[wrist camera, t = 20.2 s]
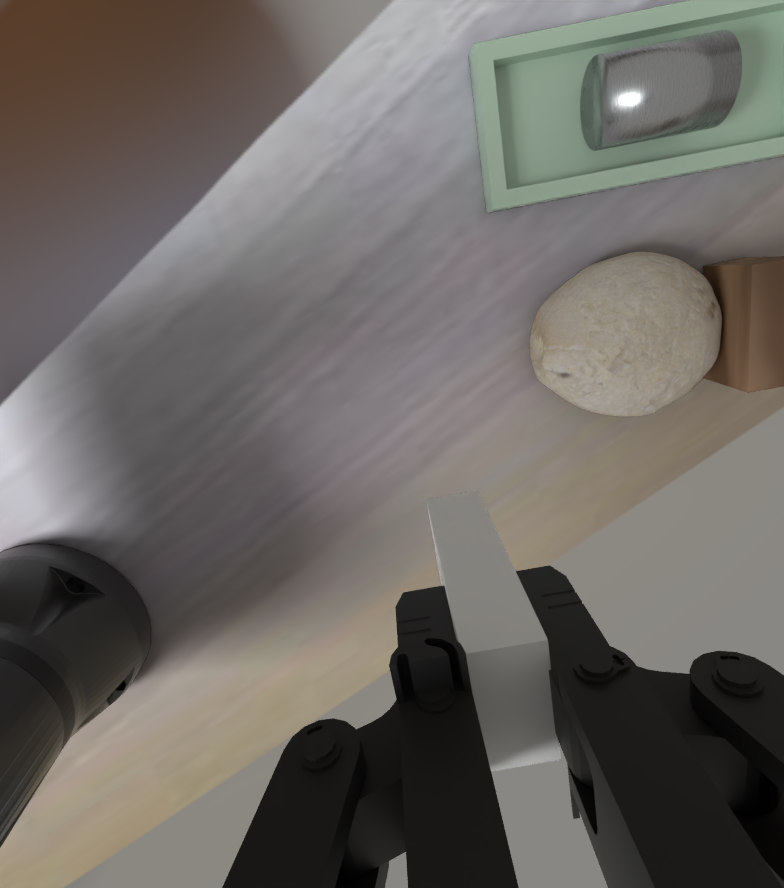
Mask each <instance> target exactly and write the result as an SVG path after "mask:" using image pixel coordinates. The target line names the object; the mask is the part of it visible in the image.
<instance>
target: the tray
mask: <svg viewBox="0 0 784 888" xmlns="http://www.w3.org/2000/svg"><path fill="white" fill-rule="evenodd" d="M719 30H729V31H731V32H732V33H733V34H734V35H735V36H736V38H737V39H738V42H739V44H740V48H741V53H742V77H741V83H740V87H739V91H738V95H737V98H736V100H735V103H734V105H733V107H732V109H731V111H730V113H729V114H728V116H727V117H726V119H725V120H724V121H723V122H722V123H721V124H720V125H718V126H717V127H714V128H710V129H705V130H700V131H695V132H690V133H685V134H679V135H674V136H669V137H664V138H659V139H654V140H649V141H643V142H638V143H633V144H628V145H623V146H618V147H613V148H607V149H602V150H597V151H593V150H591V149H590V148H589V147H588V145H587V144H586V141H585V139H584V136H583V132H582V126H581V117H580V98H581V89H582V83H583V78H584V74H585V71H586V68H587V66H588V64H589V62H590V60H591V59H592V58H593V57H594V56H595V55H598V54H603V53H608V52H613V51H618V50H623V49H628V48H633V47H638V46H643V45H648V44H653V43H658V42H664V41H669V40H674V39H679V38H684V37H689V36H694V35H699V34H704V33H709V32H714V31H719ZM469 66H470V75H471V83H472V92H473V101H474V109H475V118H476V127H477V135H478V144H479V153H480V161H481V170H482V178H483V187H484V196H485V204H486V213H490V212H495V211H501V210H506V209H511V208H516V207H522V206H527V205H532V204H537V203H542V202H548V201H553V200H558V199H563V198H568V197H574V196H579V195H584V194H589V193H594V192H600V191H605V190H610V189H615V188H620V187H626V186H631V185H636V184H641V183H647V182H652V181H657V180H662V179H667V178H673V177H678V176H683V175H688V174H693V173H699V172H704V171H709V170H714V169H719V168H725V167H730V166H735V165H740V164H745V163H751V162H756V161H761V160H766V159H772V158H777V157H782V156H784V0H690V1H685V2H680V3H675V4H670V5H665V6H660V7H655V8H650V9H645V10H640V11H635V12H630V13H625V14H620V15H615V16H610V17H605V18H600V19H595V20H590V21H585V22H580V23H575V24H570V25H565V26H560V27H555V28H550V29H545V30H540V31H535V32H530V33H525V34H520V35H515V36H510V37H505V38H500V39H495V40H490V41H485V42H480V43H475V44H474V45H473V48H472V50H471V52H470V54H469Z"/></svg>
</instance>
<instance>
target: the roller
mask: <svg viewBox="0 0 784 888" xmlns="http://www.w3.org/2000/svg"><path fill="white" fill-rule="evenodd" d="M741 77H742V53H741V48H740V44H739V42H738V39H737V38H736V36H735V35H734V34H733V33H732V32H731V31H729V30H719V31H714V32H709V33H704V34H699V35H694V36H689V37H684V38H679V39H674V40H669V41H664V42H658V43H653V44H648V45H643V46H638V47H633V48H628V49H623V50H618V51H613V52H608V53H603V54H598V55H595V56H594V57H593V58H592V59H591V60H590V62H589V64H588V66H587V68H586V71H585V74H584V78H583V83H582V89H581V98H580V117H581V126H582V132H583V136H584V139H585V141H586V144H587V145H588V147H589V148H590V149H591V150H593V151H597V150H602V149H607V148H613V147H618V146H623V145H628V144H633V143H638V142H643V141H649V140H654V139H659V138H664V137H669V136H674V135H679V134H685V133H690V132H695V131H700V130H705V129H710V128H714V127H717V126H718V125H720V124H721V123H722V122H723V121H724V120H725V119H726V117H727V116H728V114H729V113H730V111H731V109H732V107H733V105H734V103H735V100H736V98H737V95H738V91H739V87H740V83H741Z"/></svg>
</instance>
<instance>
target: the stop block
mask: <svg viewBox="0 0 784 888" xmlns="http://www.w3.org/2000/svg"><path fill="white" fill-rule="evenodd" d="M704 277H705V278H706V279H707V280H708V282H709V283H710V285H711V287H712V289H713V292H714V294H715V296H716V299H717V301H718V304H719V306H720V309H721V314H722V327H721V338H720V348H719V353H718V357H717V360H716V361H715V363H714V364H713V366H712V367H711V369H710V370H709V371H708V372H707V373H706V374H705V376H704V378H705V379H708V380H711V381H714V382H717V383H720V384H723V385H726V386H730V387H733V388H736V389H739V390H742V391H745V392H748V393H749V392H755V391H760V390H766V389H771V388H777V387H782V386H784V256H782V257H755V258H743V259H738V260H732V261H727V262H722V263H716V264H711V265H706V266H704Z"/></svg>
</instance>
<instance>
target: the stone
mask: <svg viewBox="0 0 784 888" xmlns="http://www.w3.org/2000/svg"><path fill="white" fill-rule="evenodd" d="M721 327H722V314H721V309H720V306H719V304H718V301H717V299H716V296H715V294H714V292H713V289H712V287H711V285H710V283H709V282H708V280H707V279H706V278H705V277H704V276H703V275H702V274H701V273H700V272H698V271H697V270H696V269H694V268H693V267H691V266H689V265H688V264H687V263H685V262H683V261H681V260H679V259H677V258H674V257H671V256H668V255H664V254H659V253H654V252H632V253H627V254H623V255H620V256H616V257H613V258H610V259H607V260H604V261H600V262H597V263H595V264H592V265H590V266H588V267H586V268H585V269H583V270H581V271H580V272H578V273H577V274H576V275H575V276H573V277H572V278H570V279H569V280H568V281H566V282H565V283H564V284H563V285H562V286H561V287H560V288H558V289H557V290H556V291H555V292H554V293H553V294H552V295H551V296H550V297H549V298H548V299H547V300H546V301H545V302H544V303H543V304H542V305H541V307H540V308H539V310H538V311H537V313H536V317H535V319H534V322H533V326H532V329H531V334H530V356H531V360H532V364H533V368H534V371H535V374H536V377H537V379H538V380H539V381H540V382H541V383H543V384H544V385H546V386H547V387H548V388H549V389H551V390H552V391H554V392H555V393H556V394H558V395H559V396H561V397H562V398H564V399H565V400H567V401H568V402H570V403H572V404H574V405H576V406H577V407H580V408H582V409H584V410H587V411H591V412H595V413H600V414H605V415H612V416H626V417H632V416H644V415H647V414H652V413H654V412H656V411H657V410H659V409H660V408H662V407H664V406H667V405H669V404H671V403H672V402H674V401H676V400H677V399H679V398H680V397H682V396H684V395H685V394H686V393H688V392H689V391H690V390H692V389H693V388H694V387H695V386H696V385H697V384H698V383H699V382H700V381H701V380H702V378H703V377H704V376H705V374H706V373H707V372H708V371H709V370H710V369H711V367H712V366H713V364H714V363H715V361H716V360H717V357H718V353H719V348H720V338H721Z"/></svg>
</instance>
